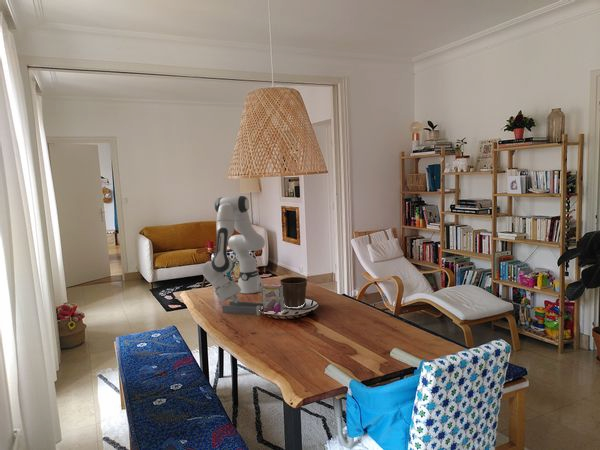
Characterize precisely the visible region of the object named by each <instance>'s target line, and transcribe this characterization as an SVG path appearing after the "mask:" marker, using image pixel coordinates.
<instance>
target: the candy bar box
mask: <svg viewBox="0 0 600 450" xmlns="http://www.w3.org/2000/svg"><path fill="white" fill-rule="evenodd" d="M261 295H262V303H263V310H266V311H274V312H281V311H283V310H284V311H285V305H284V297H283V285H281V284H267V283H265V284H263V286H262V292H261ZM263 310H262V311H263Z"/></svg>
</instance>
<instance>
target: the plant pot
mask: <svg viewBox="0 0 600 450" xmlns="http://www.w3.org/2000/svg"><path fill="white" fill-rule="evenodd" d="M308 281H309V280H308V278H306V277H301V276H290V277H285V278H284V277H283V278H281V279H280V280H279V282H280V285H283V301H284V304H285V305H286V306H288V307H298V306H301V305H303V304H304V303H305V304H306V297H307V296H306V295H307V293H306V292H307V286H308V283H307V282H308ZM285 305H284V306H285Z"/></svg>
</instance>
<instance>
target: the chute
mask: <svg viewBox="0 0 600 450" xmlns="http://www.w3.org/2000/svg"><path fill="white" fill-rule="evenodd" d="M261 306H263V302H253V301H251V302H250V301H239V302H237V303H235V302H234V301H232V300H230V301H229V305H225V304H222V305H221V308H222V313H226V314H227V313H228V314H240V315H254V316H255V315H256V316H261V315H262V310H261ZM259 310H261V312H260V311H259Z"/></svg>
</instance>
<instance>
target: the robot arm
mask: <svg viewBox="0 0 600 450" xmlns="http://www.w3.org/2000/svg"><path fill="white" fill-rule="evenodd" d="M249 208H250V200H249V199H248V197H246V196H244V195H240V196H239V195H232V196H225V197H224V196H223V197H219V198H216V200H215V202H214V210H215V212H216V214H217V215H216V228H215V229H216V241H215V253H214V256H213V257H212V260H210V261H206V262H205V263H204V264H202V266H201V269H200V271H201V274H202V275H203V277H204V278H205V280H206V281H208V282H209V283H210V284H211V285H212V287H213V288H214V291H213V292H215V295H216V297H217V298H218V299H219V301H220V302H221V303H225V302H226V301H228V300H230V301H234V302H235V303H237V302H241V301H240V300H241V299H239V297H238V294H255V293H262V286H263V285H264V281H263V278H262V277H260V276H259V273H260V270H259V269H257V261H256V258H255V257H254V256H252V255H251V254H250V253H249V252H250V251H251V252H252V251H253V252H255V251H256V252H257V251H260V250H263V248H264V247H265V244H266V243H265V242H266V240H265V238H264V237H263V236H262V235H261V234H259V233H258V232H257V231H256V230H255V229H254V226H252V222H251V220H250V216H249V212H248V211H249ZM234 231H236V232H237V233H239V234H234ZM233 234H234V235H233ZM228 248H229V249H230V250H231V251H233V252H234V253H235V255H236V257H237V258H238V263H239V274H238V275H239V278H238V283H237V282H235V281H234V279H233V278H232V277H226V276H225V275H226V274H228V273H229V272H230V271H232V269H233V261H232V260H231V259H230V258H229V257H228V252H227V251H228Z"/></svg>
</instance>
